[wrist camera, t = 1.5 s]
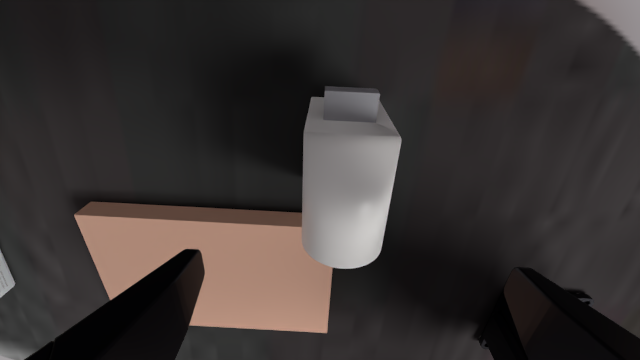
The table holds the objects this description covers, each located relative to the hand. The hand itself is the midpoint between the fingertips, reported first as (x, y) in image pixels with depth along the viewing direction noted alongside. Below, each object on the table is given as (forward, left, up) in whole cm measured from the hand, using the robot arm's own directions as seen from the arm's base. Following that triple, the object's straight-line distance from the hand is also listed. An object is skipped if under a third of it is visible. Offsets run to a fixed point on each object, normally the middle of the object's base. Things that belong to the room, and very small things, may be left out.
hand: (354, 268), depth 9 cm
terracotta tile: (+8, +10, -10) cm, 16 cm away
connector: (0, 0, -10) cm, 10 cm away
